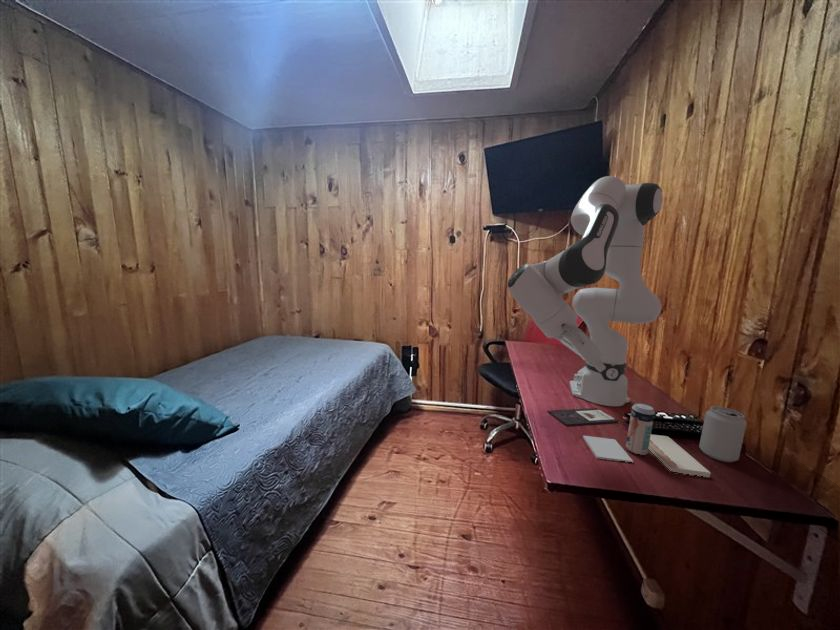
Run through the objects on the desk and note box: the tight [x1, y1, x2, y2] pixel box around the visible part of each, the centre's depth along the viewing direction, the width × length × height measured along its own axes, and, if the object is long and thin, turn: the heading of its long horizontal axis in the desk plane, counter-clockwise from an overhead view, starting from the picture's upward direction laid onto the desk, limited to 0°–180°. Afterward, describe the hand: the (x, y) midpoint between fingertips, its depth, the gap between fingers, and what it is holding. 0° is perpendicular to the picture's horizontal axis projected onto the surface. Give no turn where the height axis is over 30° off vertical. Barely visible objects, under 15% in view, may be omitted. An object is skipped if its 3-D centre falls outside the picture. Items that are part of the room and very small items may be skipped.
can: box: [698, 405, 747, 463], centre depth 82 cm, size 8×8×12 cm
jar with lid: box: [625, 402, 656, 456], centre depth 82 cm, size 5×5×12 cm
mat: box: [582, 435, 634, 464], centre depth 83 cm, size 10×8×1 cm
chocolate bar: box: [546, 407, 619, 427], centre depth 100 cm, size 9×1×18 cm
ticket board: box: [648, 433, 711, 478], centre depth 81 cm, size 16×8×1 cm, turn 171°
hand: (594, 363), depth 81 cm, fingers open, 8 cm apart
